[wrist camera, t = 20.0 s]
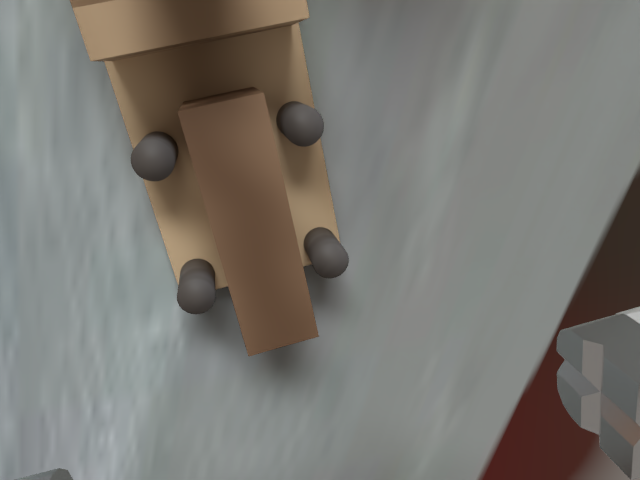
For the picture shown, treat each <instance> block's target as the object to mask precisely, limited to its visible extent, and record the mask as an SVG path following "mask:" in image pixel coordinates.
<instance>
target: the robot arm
mask: <svg viewBox="0 0 640 480" xmlns="http://www.w3.org/2000/svg"><path fill="white" fill-rule="evenodd" d="M557 352H559V354H561V356H563V358H565V361H564V362H563V364H562V365H561V367H560V368H559V370H558V372H557V384H558V385H557V386H558V391H559V394H560V397H561V399H562V402H563V405H564V406H565V408H566V409H567V411H568V413H569V414H570V416H571V417H572V418H573V419H574V420H575V421H576V423H578V425H579V426H580V427H581V428H584V429H586V430H589V431H591V432H594V433H596V434H599V438H600V439H599V440H600V448H601V449H602V450H603V451H604V452H605V453H606V454H607V455H608V456H609V457H610V459H611V460H612V461H613V462H614V463H615V464H616V465H617V466H618V467H619V468H620V469H621V470H622V471H623V472H624V473H625V474H626V475H627V476H628V477H629V478H630V479H631V480H633V479H637V478H640V307H637V308H634V309H631V310H627V311H624V312H620V313H617V314H615V315H613V316H609V317H606V318H602V319H599V320H595V321H591V322H588V323H584V324H581V325H578V326H574V327H570V328H567V329H563V330H561V331H560V333H559V336H558V338H557ZM15 480H73V479H72V477H71V475H70V474H69V472H68V470H65V469H60V468H58V469H54V470H50V471H47V472H43V473H39V474H35V475H31V476H27V477H23V478H19V479H15Z"/></svg>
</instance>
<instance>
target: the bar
mask: <svg viewBox="0 0 640 480" xmlns="http://www.w3.org/2000/svg"><path fill="white" fill-rule="evenodd" d="M177 112H178V116H179V119H180V122H181V126H182V129H183V133H184V136H185V140H186V143H187V146H188V150H189V153H190V157H191V160H192V164H193V167H194V171H195V174H196V177H197V181H198V184H199V188H200V191H201V195H202V198H203V201H204V205H205V208H206V212H207V215H208V219H209V222H210V226H211V229H212V232H213V236H214V239H215V243H216V246H217V250H218V253H219V256H220V260H221V263H222V267H223V270H224V274H225V277H226V281H227V284H228V287H229V291H230V294H231V298H232V301H233V305H234V308H235V311H236V315H237V318H238V322H239V325H240V329H241V332H242V336H243V339H244V342H245V346H246V349H247V353H248V356H252V355H255V354H259V353H262V352H266V351H269V350H273V349H276V348H280V347H283V346H287V345H290V344H294V343H297V342H301V341H304V340H308V339H312V338H315V337H319V335H318V331H317V326H316V322H315V317H314V313H313V308H312V304H311V300H310V295H309V291H308V286H307V282H306V277H305V273H304V268H303V264H302V259H301V255H300V251H299V246H298V242H297V237H296V233H295V228H294V224H293V219H292V215H291V211H290V206H289V202H288V197H287V193H286V188H285V184H284V179H283V175H282V171H281V166H280V162H279V157H278V153H277V148H276V144H275V139H274V135H273V131H272V126H271V122H270V117H269V113H268V108H267V104H266V99H265V95H264V92H262V91H260V90H258V89H257V88H255V87H249V88H244V89H240V90H235V91H230V92H226V93H221V94H217V95H212V96H207V97H203V98H198V99H193V100H189V101H184V102H183V103H182V105H181V106H180V108H179V109H178V111H177Z"/></svg>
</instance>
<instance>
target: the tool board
mask: <svg viewBox="0 0 640 480" xmlns="http://www.w3.org/2000/svg"><path fill="white" fill-rule="evenodd" d="M70 2H71V5H72V8H73V10H74V13H75V16H76V19H77V22H78V25H79V28H80V31H81V34H82V37H83V40H84V43H85V46H86V49H87V52H88V55H89V58H90V60H91V61H104V62H105V65H106V68H107V71H108V74H109V77H110V80H111V83H112V86H113V89H114V92H115V95H116V98H117V101H118V104H119V107H120V110H121V113H122V116H123V119H124V122H125V126H126V129H127V132H128V135H129V138H130V141H131V144H132V147H133V152H132V154H131V164H132V167H133V169H134V171H135V172H136V173H137V174H138V175H139V176H140V177H141V178H143V180H144V183H145V186H146V189H147V192H148V195H149V198H150V201H151V204H152V207H153V210H154V213H155V216H156V219H157V222H158V225H159V228H160V231H161V234H162V237H163V240H164V243H165V246H166V249H167V252H168V256H169V259H170V262H171V265H172V268H173V271H174V274H175V277H176V280H177V283H178V293H177V301H178V304H179V306H180V307H181V308H182V309H183V310H184V311H186V312H188V313H191V314H201V313H204V312H206V311H208V310H209V309H210V308H211V307H212V306H213V304H214V302H215V299H216V292H215V290H216V289H220V288H223V287H227V286H228V284H227V281H226V277H225V274H224V270H223V267H222V263H221V260H220V256H219V253H218V250H217V246H216V243H215V239H214V236H213V232H212V229H211V226H210V222H209V219H208V215H207V212H206V208H205V205H204V201H203V198H202V195H201V191H200V188H199V184H198V181H197V177H196V174H195V171H194V167H193V164H192V160H191V157H190V153H189V150H188V146H187V143H186V140H185V136H184V133H183V129H182V126H181V122H180V119H179V116H178V112H177V111H178V109H179V108H180V106H181V105H182V103H183V102H184V101H189V100H193V99H198V98H203V97H207V96H212V95H217V94H221V93H226V92H230V91H235V90H240V89H244V88H249V87H255V88H257V89H258V90H260V91H262V92H264V95H265V99H266V104H267V108H268V113H269V117H270V122H271V126H272V131H273V135H274V139H275V144H276V148H277V153H278V157H279V162H280V166H281V171H282V175H283V179H284V184H285V188H286V193H287V197H288V202H289V206H290V211H291V215H292V219H293V224H294V228H295V233H296V237H297V242H298V246H299V251H300V255H301V259H302V264H303V266H307V265H311V264H312V265H313V267H314V269H315V271H316V272H317V273H318V274H319V275H320V276H322V277H324V278H335V277H337V276H339V275H341V274H342V273H343V272H344V271H345V270H346V268H347V266H348V262H349V258H348V254H347V252H346V251H345V249H344V248H343V246H342V245H341V244H340V239H339V234H338V229H337V224H336V218H335V213H334V208H333V203H332V197H331V192H330V187H329V181H328V176H327V171H326V166H325V160H324V155H323V150H322V145H321V139H320V137H321V136H322V133H323V129H324V122H323V119H322V116H321V115H320V113H319V112H318V111H317V110H316V109H315V108H314V102H313V97H312V92H311V87H310V81H309V76H308V71H307V65H306V60H305V55H304V50H303V44H302V39H301V34H300V29H299V23H298V22H300V21H303V20H305V19H307V18H310V17H309V12H308V6H307V1H306V0H70Z"/></svg>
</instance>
